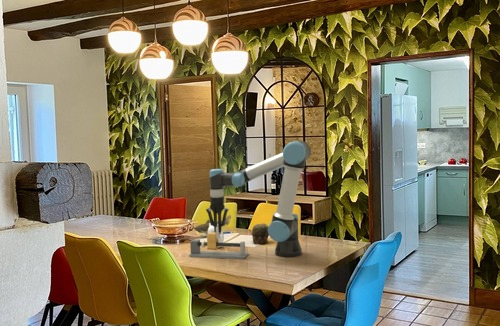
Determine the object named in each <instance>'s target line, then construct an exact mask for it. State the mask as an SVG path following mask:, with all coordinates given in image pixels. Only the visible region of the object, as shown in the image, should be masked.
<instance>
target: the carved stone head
mask: <svg viewBox="0 0 500 326" xmlns="http://www.w3.org/2000/svg"><path fill="white" fill-rule="evenodd" d="M268 227H269V225H267V224H266V223H257V224H255V225H253V227H252V230H251V236H252V237H251V238H252V242H253V244H255V245H257V244H259V245H265V244H267V243H268V239H269V237H270V236H269V234H268Z"/></svg>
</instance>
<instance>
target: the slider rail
mask: <svg viewBox="0 0 500 326" xmlns="http://www.w3.org/2000/svg"><path fill="white" fill-rule="evenodd" d="M189 246H190V254H189V255H188V257H189V258H207V259H208V258H212V259H213V258H214V259H232V260H233V259H237V260H244V259H246V257H248V256H249V252H246V241H240V242H223V243H216V246H222V247H230V248H231V247H235V248H236V247H238V248H239V249H240V250H239V251H221V250H220V251H219V250H218V251H216V250H201V247H202V248H206V247H207V240H205V239H204V240H201V239H196V238H193V239H192V240H190V245H189Z"/></svg>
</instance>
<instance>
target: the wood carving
mask: <svg viewBox="0 0 500 326" xmlns="http://www.w3.org/2000/svg"><path fill="white" fill-rule="evenodd" d="M231 218H232V215H231V214H228V215H226V220H225V225H223V226H222V227H221V228H223V227H225V226H228V225H229V224H230V221H231ZM209 223H210V220H209V219H207V220H206V222H205V223H203V224H201V223H200V224H199V225H197V226H195V227H193V229H194V230H195V231H196V232H197V233H199V234H203V233H204V234H205V236H206V237H207V234H208V228H209ZM217 224H218V220H217Z"/></svg>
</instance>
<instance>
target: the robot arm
mask: <svg viewBox="0 0 500 326" xmlns="http://www.w3.org/2000/svg"><path fill="white" fill-rule="evenodd" d="M311 153H312V149H311V146H310V144H308V143H307V142H306V141H304V140H303V141H302V140H294V141H290V142H289V143H287V144H286V145H285V146H284V148H283V150H282V152H280V153H277V154H275V155H273V156H271V157H268V158H266V159H264V160H262V161H259V162H257V163H254V164H253V165H250V166H248V167H246V168H243V169H241V170H239V171H235V172H224V169H222V168H214V169H213V168H212V169H210V170H209V195H210V199H209V200H210V201H209V202H210V205H209V207H207V208H205V211H206V213H207V215H208V220H209V221H210V223H211V226H214V232H216V239H219V238H220V236H221V231H223V230H222V228H223V227H224V226H223V225H226V224H225V220H226V218H227V216H228V215H227V214H228V212H229V208H227V207H225V200H224V195H225V194H224V193H225V192H224V187H236V188H237V187H243V186H244V185H245V184H247V183H248V182H250V181H252V180H255V179H257V178H260V177H262V176H264V175H267V174H269V173H271V172H273V171H276V170H279V169H281V168H283V167H284V168H283V169H284V170H283V175H282V180H281V187H280V191H279V192H280V193H279V197H278V201H277V207H276V211H275V212H274V213H273V214H272V217H271V222H270V224H269V225H268V234H269V236H268V237H269V238H270V239H271V240H273V241H274V242H276V246H275V248H274V254H275V255H276V256H279V257H285V258H286V257H287V258H288V257H289V258H290V257H291V258H293V257H298V256H301V255H302V254H303V250H302V247H301V244H300V241H299V216H298V214H297V213H293V212H294V207H295V202H296V197H297V192H298V188H299V187H298V186H299V184H300V183H299V182H300V176H301V172H302V171H303V170H304V169H305V168H306V167H305V166H306V161H308V160H309V159H310V157H311ZM222 213H223V214H222ZM217 221H218V226H217ZM222 226H223V227H222Z"/></svg>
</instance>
